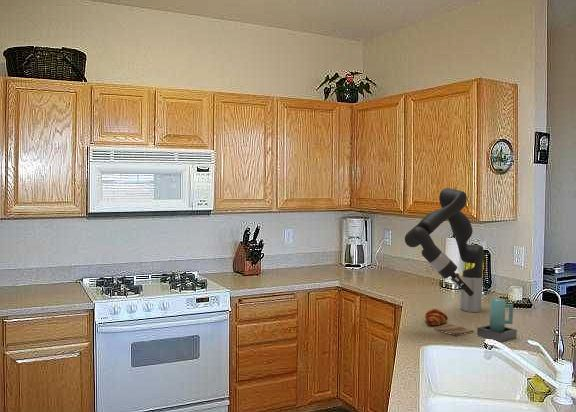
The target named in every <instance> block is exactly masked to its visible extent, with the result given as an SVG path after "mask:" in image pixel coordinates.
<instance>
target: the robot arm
mask: <svg viewBox="0 0 576 412" xmlns="http://www.w3.org/2000/svg"><path fill="white" fill-rule="evenodd" d="M438 197H439V204H440V207H441V208H439V209H436V210H433V211H431V212H429V213H427V214H426V215H425V216H424V217H423V218H422V219H421V220H420V221H419V223H418V224H416V225H415V226H414V227H413V228H411V230H409V231H407V232H406V234H405V236H404V243H405V244H406V246H407V247H409V248H416V247H418V246H420V245H421V247H422V250H421V255H422V256H423V257H424V259H425V260H426V261H427V262H428V263H429V264H430V265H431V266H432V267H433V269H434V270H435V271H436V272H437V273H438V274H439V275H440V276H441V277H442V278H443V279H448V278H449V277H451V278H450V280H451V281H452V282H453V283H454V284H455V285H456V286H458V288H461V290H460V308H459V309H460V310H462V311H464V312H469V313H479V312H482V296H483V295H482V293H483V290H482V289H483V269H484V267H483V266H484V256H485V255H484V254H485V253H484V251H485V250H484V247H483V246H482V245H478V244H468V243H467V242H469V240H470V238H471V237H472V235H473V232H474V231H473V227H472V223H471V221H470V219H469V218H468V217H467V216H466V214H464V212H462V210H463V209H464V207H465V206H466V205H467V202H468V201H467V200H468V196H467V193H466V192H464V191H463V190H459V189H455V188H449V187H447V188H443V189H442V190H441V191H440V193H439V196H438ZM447 220H448V223H449V225H450V228H451V231H452V234H453V237H454V239H455V242H456V245H457V248H458V253H459V257H460V260H461V261H462V262H463V263H468V264H474V266H473V267H471V268H467V269H464V270H463V271H462V276H461V275H460V274H459V273H458V272H456V271H457V269H458V265H456V264H455V263H454V261H453V260H451V258H449V257H448V255H446V254H445V253H444V252H443V251H442V250H441V249H440V248H439V247H438V246H437V245H436V244H435V243H434V241H433V239H432V236H431V235H432V233H434V231H435V230H437V228H438V227H439V226H441V224H442V223H445V221H447Z"/></svg>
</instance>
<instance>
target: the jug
mask: <svg viewBox="0 0 576 412" xmlns="http://www.w3.org/2000/svg"><path fill="white" fill-rule="evenodd" d="M489 299H490V300H489V325H490V326H489V330H492V331H496V332H504V331H505V327H506V325H513V321H514V320H513V319H514V318H513V317H514V304H513V303H506V299H505V298H503V297H502V298H501V297H491V298H489ZM506 308H508V319H507V320H506Z"/></svg>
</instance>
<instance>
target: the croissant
mask: <svg viewBox="0 0 576 412" xmlns="http://www.w3.org/2000/svg"><path fill="white" fill-rule="evenodd" d="M424 318H425V322H426V323H427V325H429V326H437V325H438V326H440V324H441V325H443V324H445V322H448V319H449V318H448V315H447V314H446V312H444V311H442V309H441V310H440V309H439V308H430V309H428V310H427V311H426V313H425V315H424Z"/></svg>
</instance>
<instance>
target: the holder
mask: <svg viewBox="0 0 576 412" xmlns="http://www.w3.org/2000/svg"><path fill="white" fill-rule="evenodd" d="M489 326H490V324H487V325H483V326H479V327H476V328H477V333H476V334H477V335H478V336H477V335H476V336H477V337H480V336H481V338H485V339H487V338H488V340H491V339H494V340H493V341H495V340H497V341H496V342H498V341H499V343H503V342H507V341H510V340H513V339H517V337H518V336H517V333H518V330H517V329H515V328H513V327H512V328H511V327H507V326H505V331H504V332H496V331H492V330H489Z"/></svg>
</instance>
